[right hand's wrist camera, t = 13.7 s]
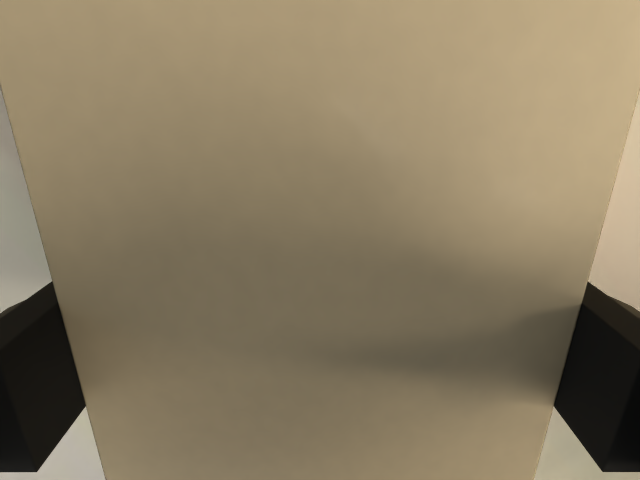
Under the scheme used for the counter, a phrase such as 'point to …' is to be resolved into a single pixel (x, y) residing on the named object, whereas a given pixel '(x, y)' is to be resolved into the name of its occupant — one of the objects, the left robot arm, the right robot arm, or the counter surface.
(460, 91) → the cabinet
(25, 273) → the counter surface
